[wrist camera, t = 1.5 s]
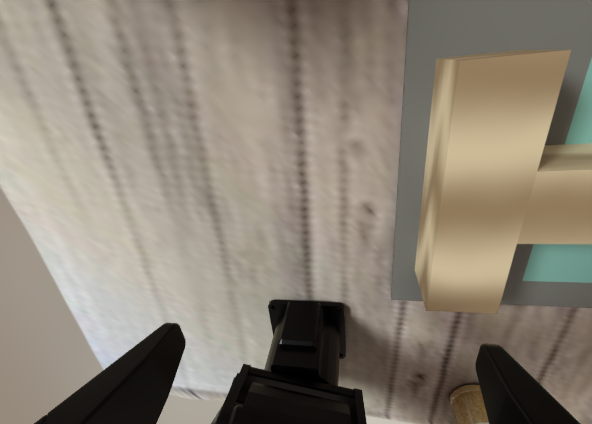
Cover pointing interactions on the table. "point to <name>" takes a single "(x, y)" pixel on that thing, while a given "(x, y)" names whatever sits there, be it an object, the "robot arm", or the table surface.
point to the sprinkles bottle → (469, 405)
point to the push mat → (563, 130)
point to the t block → (495, 176)
